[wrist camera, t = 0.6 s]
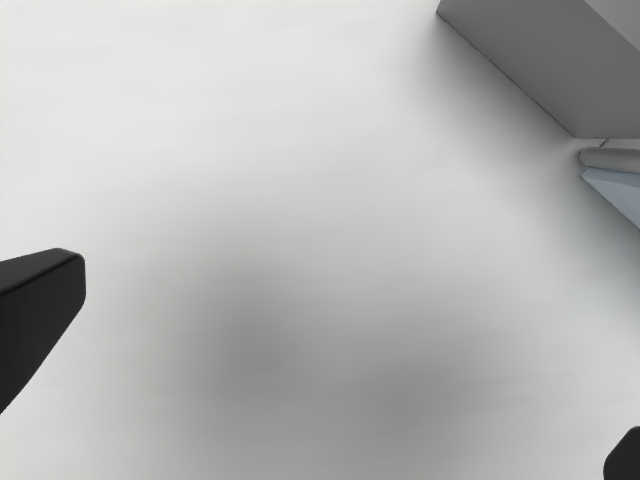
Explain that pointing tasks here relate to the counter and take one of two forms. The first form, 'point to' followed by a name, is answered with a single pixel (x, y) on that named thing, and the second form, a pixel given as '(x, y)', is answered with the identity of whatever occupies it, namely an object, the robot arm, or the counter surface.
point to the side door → (615, 177)
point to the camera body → (564, 58)
